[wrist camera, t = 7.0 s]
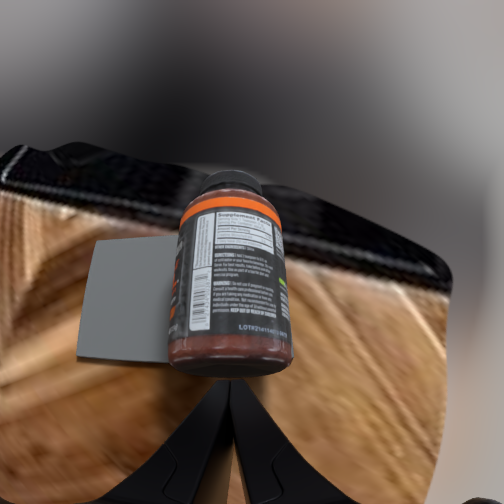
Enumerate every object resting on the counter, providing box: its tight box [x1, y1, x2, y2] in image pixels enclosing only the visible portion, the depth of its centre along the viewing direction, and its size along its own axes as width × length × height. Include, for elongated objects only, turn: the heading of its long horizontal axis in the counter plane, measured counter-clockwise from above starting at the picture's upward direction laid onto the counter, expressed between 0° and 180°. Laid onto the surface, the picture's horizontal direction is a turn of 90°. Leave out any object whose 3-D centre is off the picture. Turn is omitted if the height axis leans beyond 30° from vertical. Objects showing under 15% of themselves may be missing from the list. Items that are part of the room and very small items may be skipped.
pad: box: [76, 235, 294, 363], centre depth 18 cm, size 9×14×1 cm, turn 93°
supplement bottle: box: [167, 170, 292, 378], centre depth 16 cm, size 6×6×11 cm
